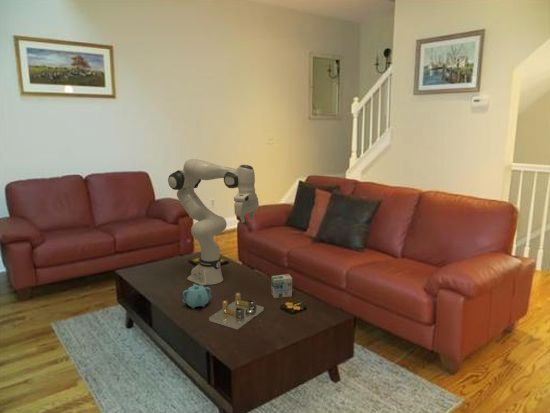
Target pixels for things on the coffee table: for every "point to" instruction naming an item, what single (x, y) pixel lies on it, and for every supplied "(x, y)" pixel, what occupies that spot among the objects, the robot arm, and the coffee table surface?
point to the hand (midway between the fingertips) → (247, 220)
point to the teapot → (197, 296)
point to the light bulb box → (281, 286)
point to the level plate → (231, 319)
